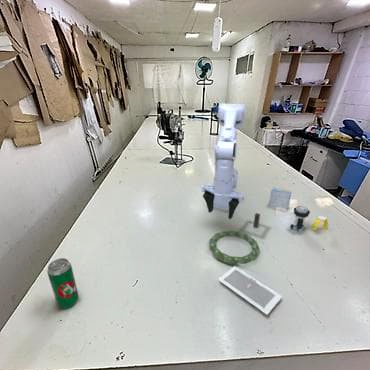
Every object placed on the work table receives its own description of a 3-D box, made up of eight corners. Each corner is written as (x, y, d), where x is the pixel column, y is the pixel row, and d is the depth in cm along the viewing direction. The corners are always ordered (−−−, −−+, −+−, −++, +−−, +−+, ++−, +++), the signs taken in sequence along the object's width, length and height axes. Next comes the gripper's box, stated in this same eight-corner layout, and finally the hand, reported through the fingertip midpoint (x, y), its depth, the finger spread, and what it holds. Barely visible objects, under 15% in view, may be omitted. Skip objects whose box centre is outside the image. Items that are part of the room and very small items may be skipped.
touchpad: (266, 317, 56) (267, 311, 55) (217, 282, 66) (218, 276, 65) (281, 299, 61) (283, 293, 60) (234, 268, 71) (234, 263, 70)
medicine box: (288, 207, 106) (292, 190, 103) (286, 212, 103) (290, 194, 99) (270, 203, 110) (273, 186, 107) (268, 207, 107) (271, 189, 103)
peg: (241, 230, 89) (243, 215, 87) (248, 221, 95) (250, 207, 93) (262, 237, 85) (265, 222, 83) (268, 227, 91) (271, 213, 89)
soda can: (61, 293, 62) (51, 257, 57) (81, 292, 62) (73, 256, 57) (53, 310, 57) (42, 272, 52) (75, 309, 58) (65, 271, 53)
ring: (200, 253, 77) (200, 247, 76) (221, 230, 90) (222, 224, 89) (248, 274, 69) (249, 267, 68) (264, 245, 81) (266, 239, 80)
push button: (300, 226, 93) (306, 203, 89) (310, 233, 88) (317, 210, 84) (286, 228, 91) (291, 205, 87) (295, 236, 86) (301, 212, 82)
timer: (321, 227, 91) (325, 214, 89) (327, 231, 89) (331, 218, 87) (309, 230, 90) (313, 217, 87) (315, 234, 87) (319, 220, 85)
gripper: (197, 177, 77) (196, 213, 83) (239, 187, 70) (235, 226, 75) (208, 171, 82) (206, 205, 88) (248, 180, 75) (243, 216, 81)
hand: (220, 214), depth 82 cm, fingers open, 7 cm apart
